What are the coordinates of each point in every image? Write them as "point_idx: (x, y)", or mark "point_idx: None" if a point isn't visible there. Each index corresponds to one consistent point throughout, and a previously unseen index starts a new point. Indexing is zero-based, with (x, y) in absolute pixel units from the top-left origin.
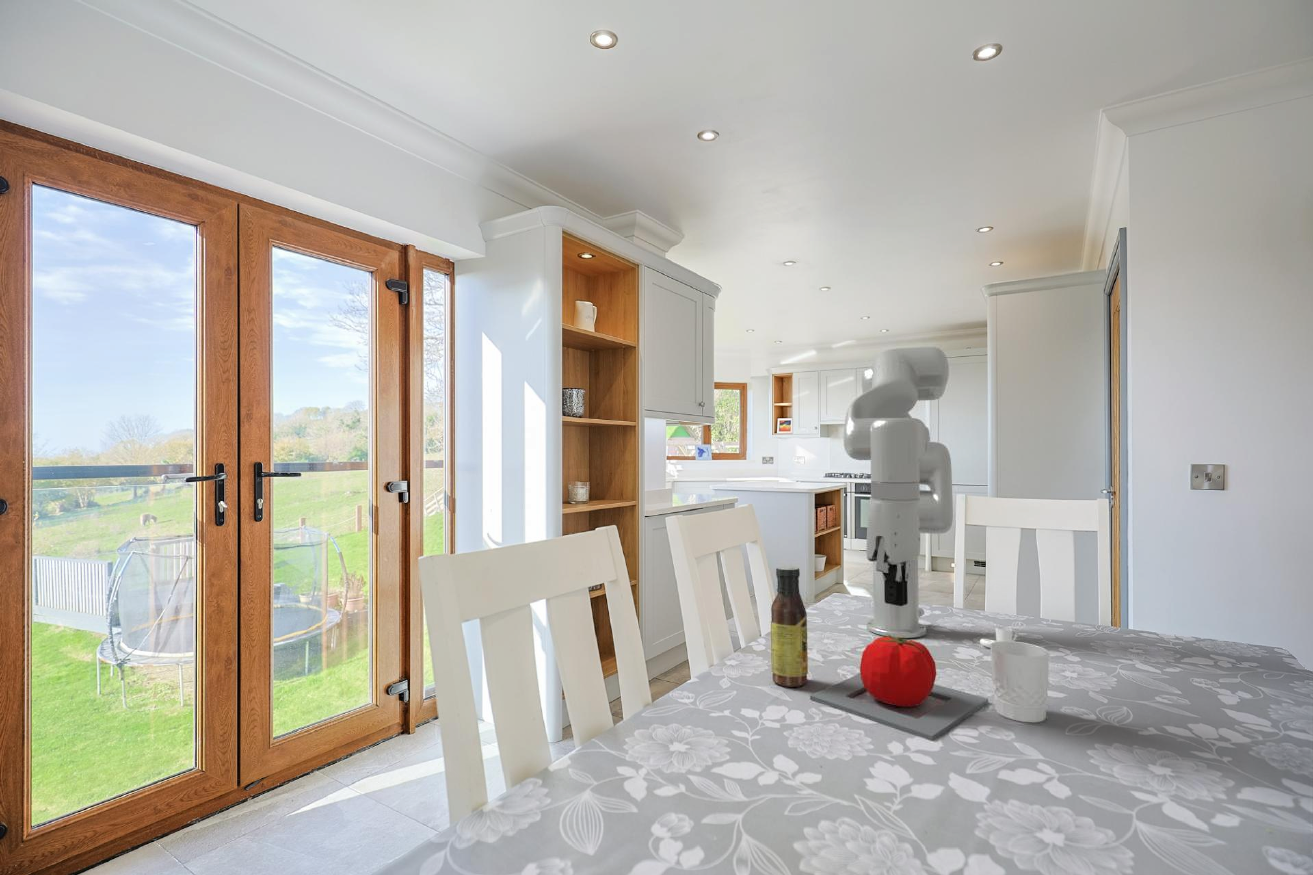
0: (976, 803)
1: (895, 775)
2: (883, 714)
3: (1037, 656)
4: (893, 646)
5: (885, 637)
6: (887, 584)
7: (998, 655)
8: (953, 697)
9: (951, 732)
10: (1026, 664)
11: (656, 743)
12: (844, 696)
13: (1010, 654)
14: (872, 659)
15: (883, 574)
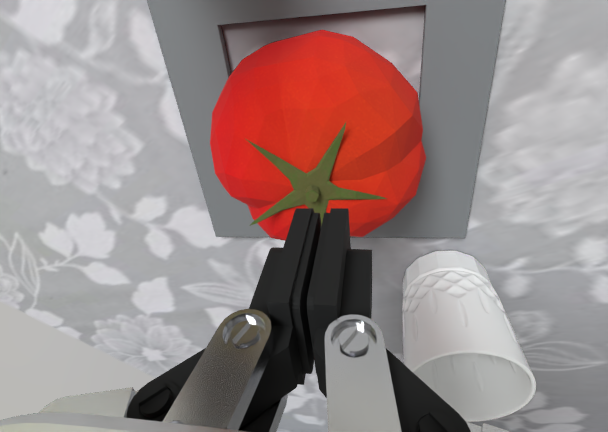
0: (136, 310)
1: (92, 242)
2: None
3: None
4: (252, 197)
5: (319, 132)
6: (252, 306)
7: (411, 360)
8: (420, 193)
9: (272, 238)
10: None
11: None
12: (213, 25)
13: None
14: (210, 138)
15: (180, 363)
